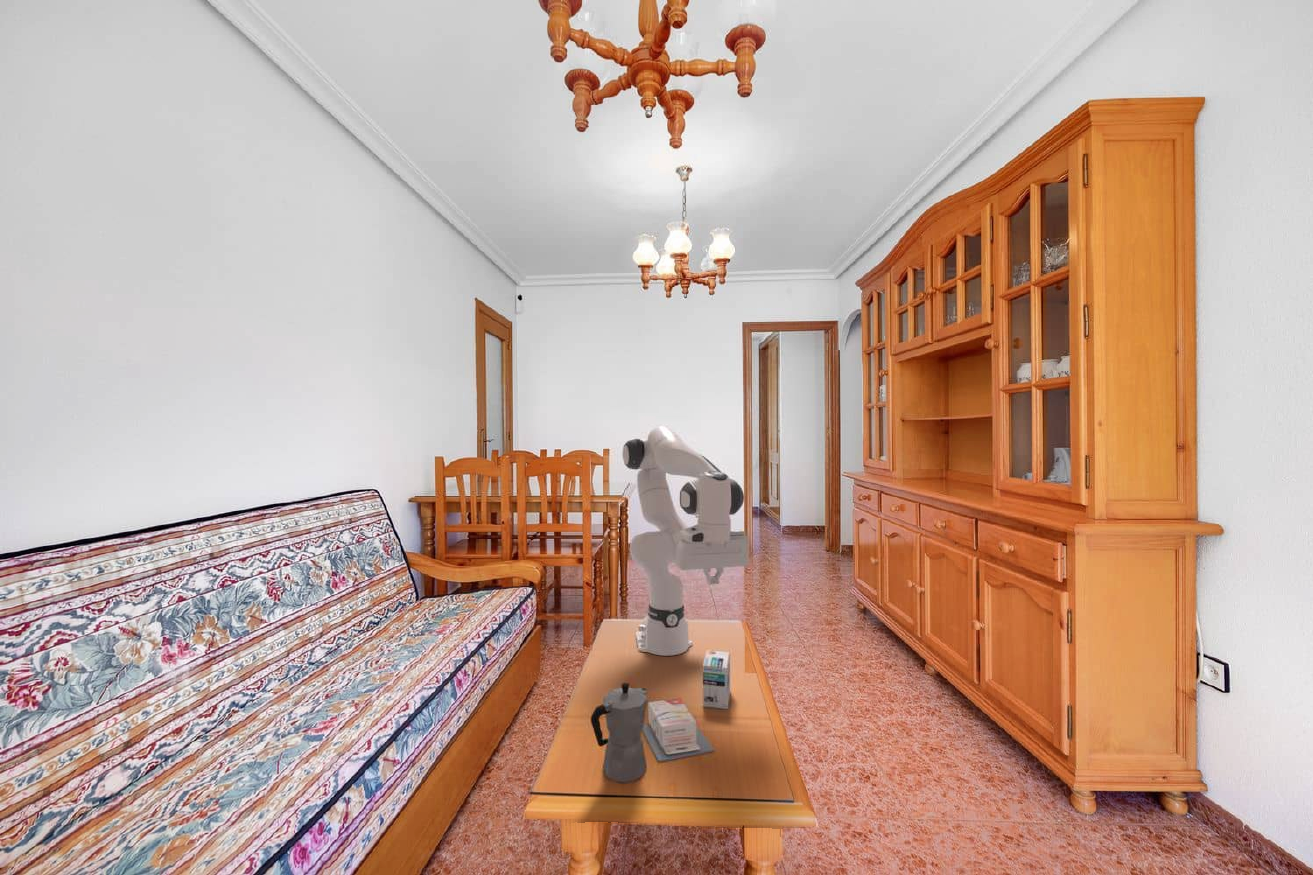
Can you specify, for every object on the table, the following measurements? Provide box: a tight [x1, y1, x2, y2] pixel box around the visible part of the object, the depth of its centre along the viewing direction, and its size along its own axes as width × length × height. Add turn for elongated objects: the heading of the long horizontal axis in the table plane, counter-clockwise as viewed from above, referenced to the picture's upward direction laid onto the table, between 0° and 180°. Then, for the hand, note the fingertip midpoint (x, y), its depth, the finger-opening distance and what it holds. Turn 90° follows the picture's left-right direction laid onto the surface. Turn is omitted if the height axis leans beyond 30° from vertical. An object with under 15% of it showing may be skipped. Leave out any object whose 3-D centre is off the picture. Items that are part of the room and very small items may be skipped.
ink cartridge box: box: [647, 697, 700, 754], centre depth 120 cm, size 9×5×15 cm
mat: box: [641, 723, 715, 763], centre depth 119 cm, size 14×13×1 cm
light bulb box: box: [702, 649, 731, 710], centre depth 139 cm, size 11×7×11 cm, turn 168°
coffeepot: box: [590, 682, 650, 784], centre depth 108 cm, size 15×9×18 cm, turn 134°
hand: (712, 583), depth 138 cm, fingers closed
